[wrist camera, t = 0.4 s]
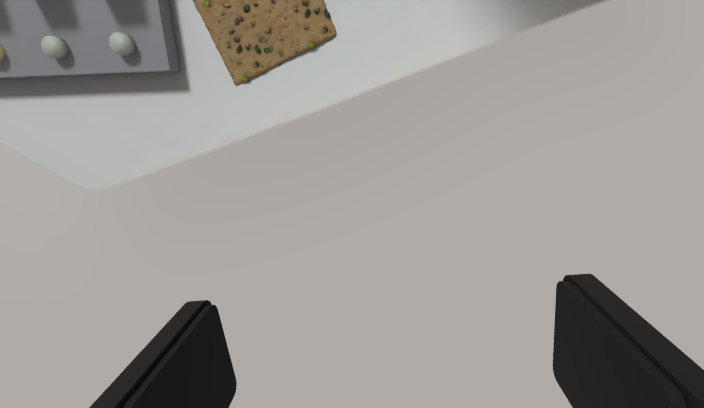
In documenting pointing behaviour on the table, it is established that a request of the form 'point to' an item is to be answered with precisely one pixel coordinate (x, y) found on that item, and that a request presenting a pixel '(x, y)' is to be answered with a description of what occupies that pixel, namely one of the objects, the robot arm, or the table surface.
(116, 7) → the breaker panel
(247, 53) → the seeded cracker
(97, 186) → the table surface
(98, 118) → the table surface
